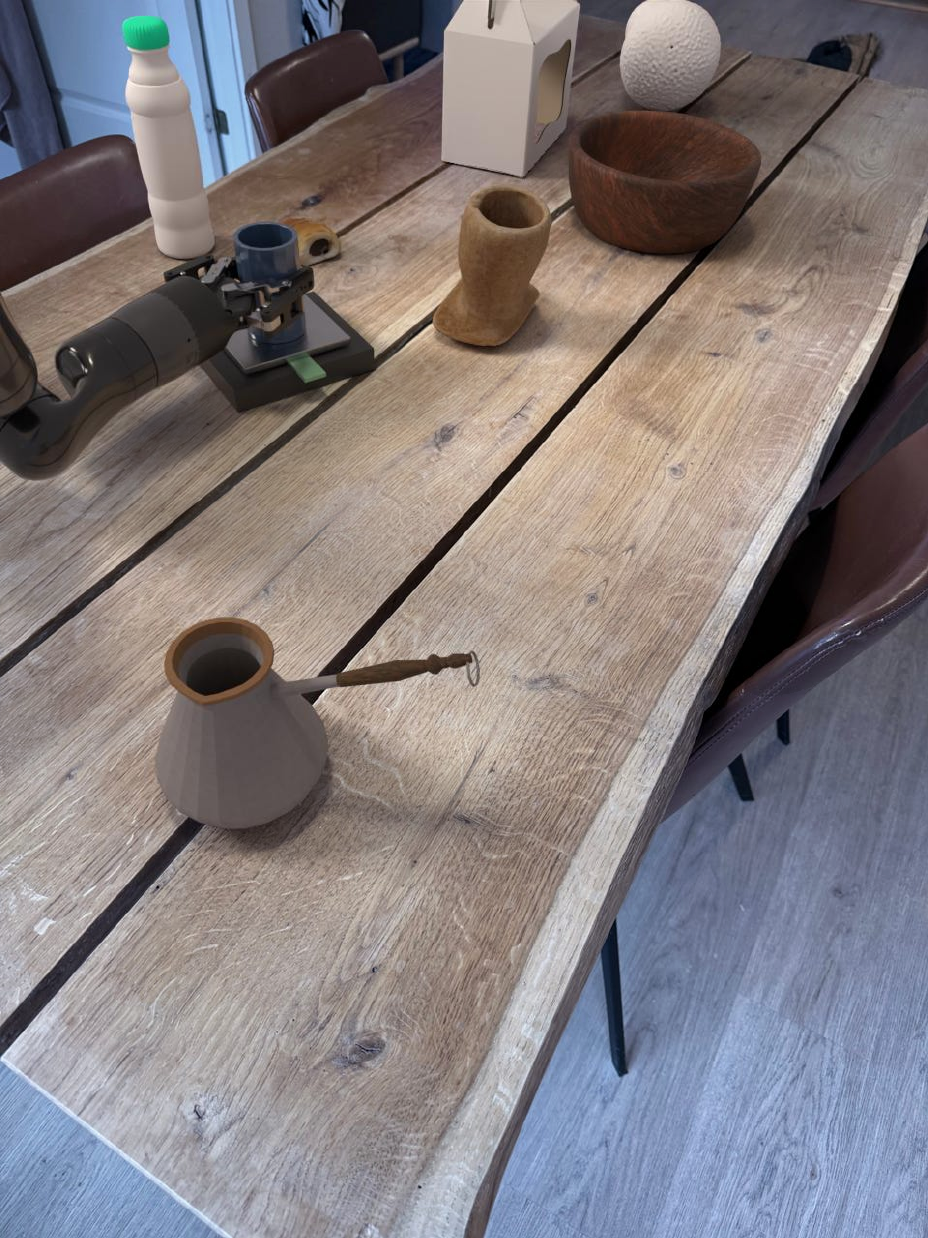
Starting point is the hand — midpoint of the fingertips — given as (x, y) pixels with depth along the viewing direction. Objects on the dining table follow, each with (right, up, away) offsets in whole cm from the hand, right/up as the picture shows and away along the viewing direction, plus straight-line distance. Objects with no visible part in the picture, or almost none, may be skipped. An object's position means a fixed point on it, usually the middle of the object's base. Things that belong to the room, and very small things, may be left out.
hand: (284, 265), depth 93 cm
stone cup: (+22, -2, +13) cm, 26 cm away
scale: (-2, -8, +6) cm, 10 cm away
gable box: (+25, +38, +49) cm, 67 cm away
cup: (-1, -5, +3) cm, 6 cm away
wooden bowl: (+44, +18, +33) cm, 58 cm away
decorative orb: (+51, +52, +63) cm, 97 cm away
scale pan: (-2, -6, +4) cm, 7 cm away
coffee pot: (+8, -48, -30) cm, 57 cm away
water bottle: (-17, +11, +22) cm, 30 cm away
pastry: (-2, +11, +23) cm, 25 cm away
